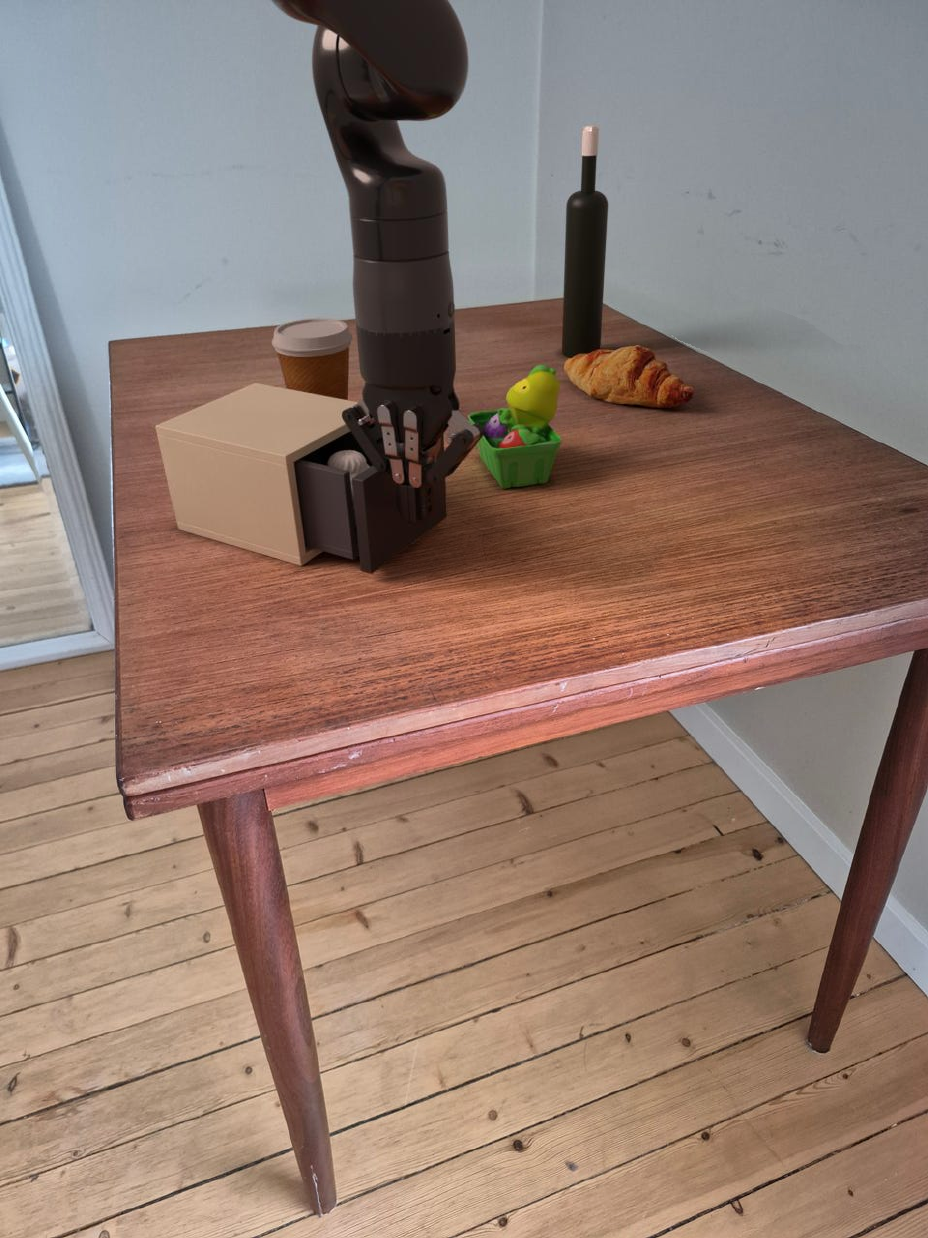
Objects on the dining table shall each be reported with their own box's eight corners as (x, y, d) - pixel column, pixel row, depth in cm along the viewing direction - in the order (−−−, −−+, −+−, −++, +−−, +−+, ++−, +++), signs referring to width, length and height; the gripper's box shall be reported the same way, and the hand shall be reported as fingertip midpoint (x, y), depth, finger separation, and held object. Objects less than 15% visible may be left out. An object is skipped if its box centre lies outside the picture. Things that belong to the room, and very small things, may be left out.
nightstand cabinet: (387, 507, 92) (379, 406, 86) (301, 566, 82) (285, 456, 76) (270, 478, 99) (255, 382, 93) (177, 529, 89) (154, 425, 83)
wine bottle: (559, 348, 137) (565, 125, 121) (596, 346, 138) (608, 123, 121) (564, 359, 132) (572, 128, 116) (603, 357, 133) (616, 127, 116)
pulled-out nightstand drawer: (457, 519, 87) (454, 432, 82) (383, 577, 78) (374, 483, 73) (329, 488, 94) (319, 406, 89) (246, 537, 85) (231, 449, 80)
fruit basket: (466, 455, 103) (464, 357, 97) (539, 446, 105) (542, 349, 99) (493, 496, 94) (492, 390, 88) (573, 485, 95) (578, 381, 89)
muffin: (396, 511, 87) (391, 442, 83) (365, 539, 82) (358, 467, 78) (340, 501, 89) (333, 434, 85) (307, 527, 84) (298, 457, 80)
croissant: (550, 406, 126) (532, 361, 120) (593, 358, 128) (577, 312, 122) (676, 442, 112) (662, 394, 106) (721, 388, 115) (709, 338, 109)
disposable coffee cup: (270, 424, 113) (255, 327, 107) (334, 406, 118) (324, 312, 112) (308, 445, 107) (295, 344, 100) (375, 425, 112) (366, 328, 105)
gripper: (305, 317, 68) (329, 522, 78) (452, 338, 62) (460, 557, 72) (364, 295, 74) (380, 489, 83) (505, 313, 68) (505, 520, 77)
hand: (417, 520), depth 77 cm, fingers closed
